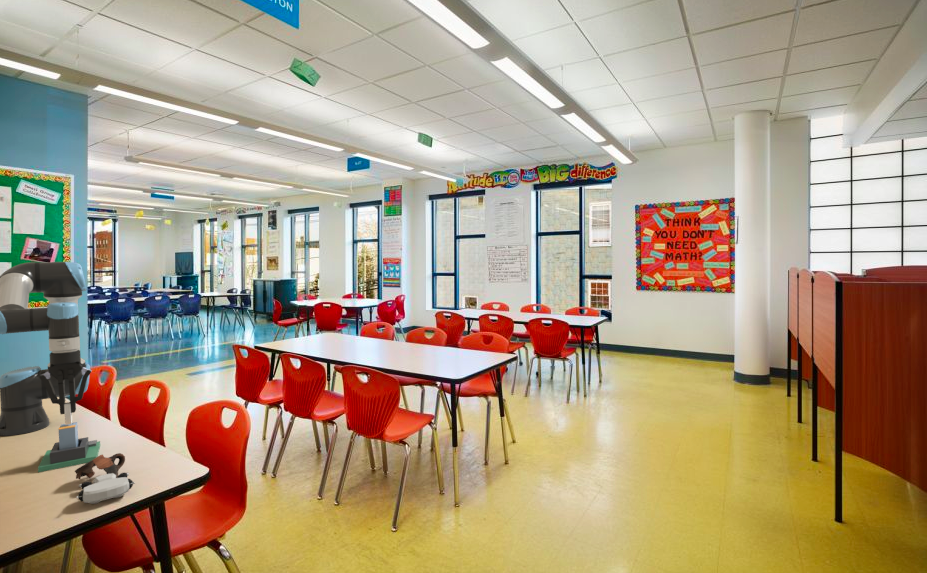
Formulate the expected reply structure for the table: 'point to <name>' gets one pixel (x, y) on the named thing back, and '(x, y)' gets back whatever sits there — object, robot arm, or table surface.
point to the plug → (68, 436)
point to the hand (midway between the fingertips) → (68, 423)
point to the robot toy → (105, 488)
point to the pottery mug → (101, 465)
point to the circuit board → (70, 455)
